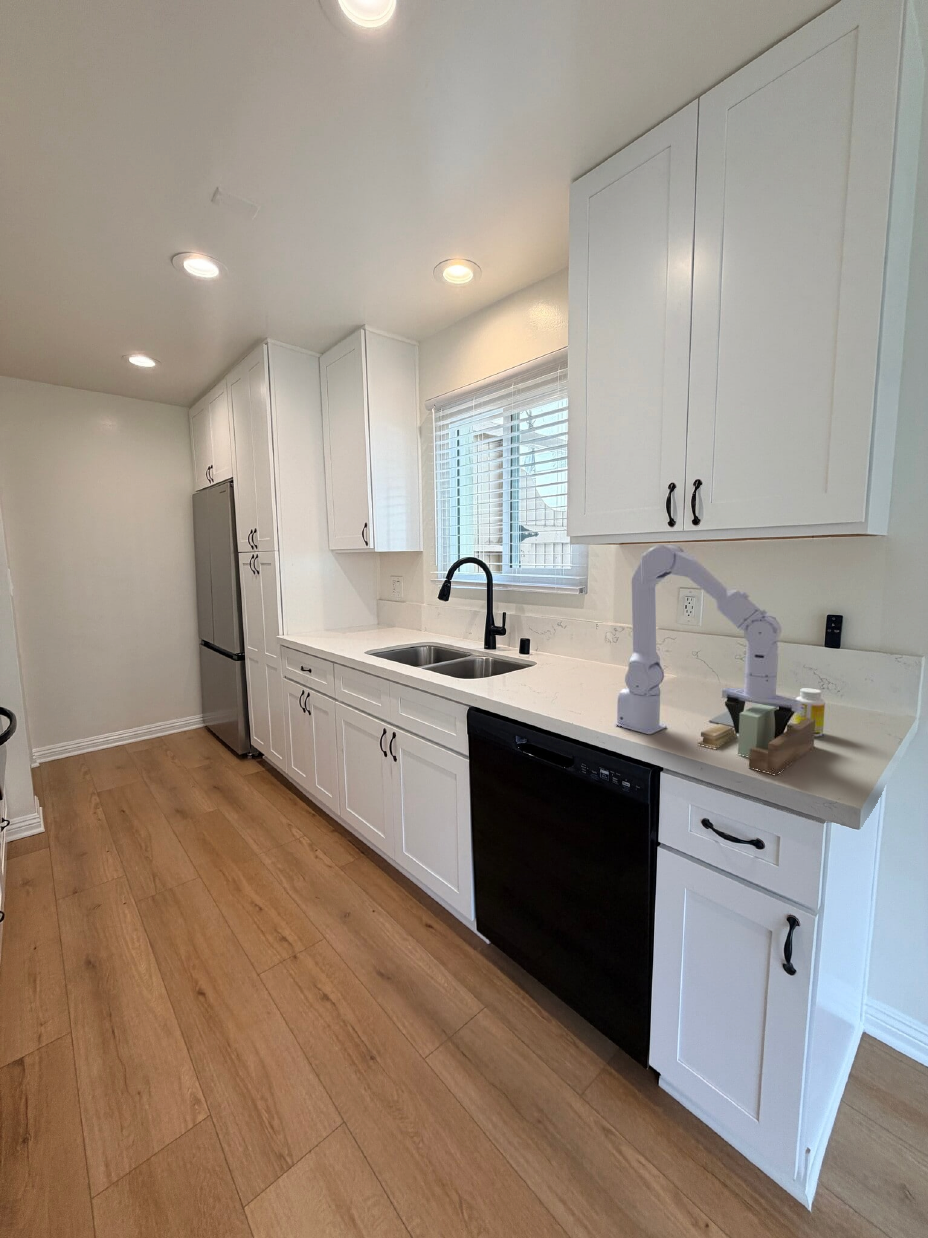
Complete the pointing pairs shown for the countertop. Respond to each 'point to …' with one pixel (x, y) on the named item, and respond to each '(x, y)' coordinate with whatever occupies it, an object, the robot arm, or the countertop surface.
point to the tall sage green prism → (756, 728)
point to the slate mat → (723, 719)
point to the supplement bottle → (811, 708)
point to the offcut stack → (717, 735)
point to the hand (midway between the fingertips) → (757, 737)
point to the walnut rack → (784, 748)
